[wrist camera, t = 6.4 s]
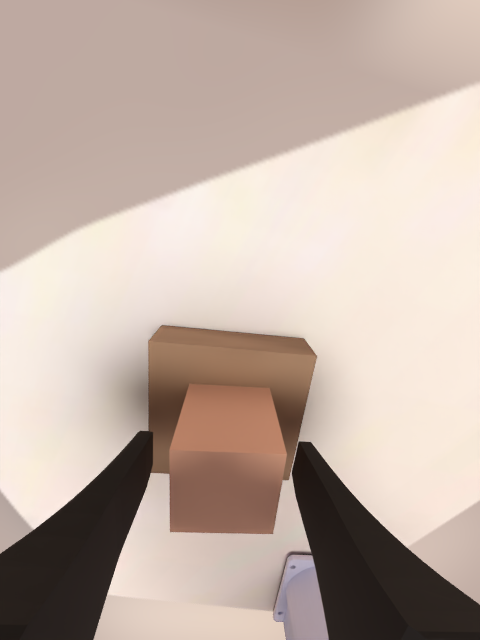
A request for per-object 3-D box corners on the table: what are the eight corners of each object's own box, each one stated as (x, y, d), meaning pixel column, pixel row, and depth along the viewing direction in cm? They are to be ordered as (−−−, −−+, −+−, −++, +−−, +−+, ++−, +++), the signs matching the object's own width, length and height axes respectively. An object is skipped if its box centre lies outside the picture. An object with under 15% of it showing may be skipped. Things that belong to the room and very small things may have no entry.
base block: (281, 449, 18) (288, 480, 16) (159, 441, 18) (148, 472, 15) (303, 338, 15) (316, 356, 13) (161, 325, 15) (148, 340, 13)
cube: (261, 450, 15) (272, 534, 11) (188, 447, 15) (170, 531, 10) (269, 387, 14) (287, 454, 9) (189, 383, 13) (169, 449, 9)
